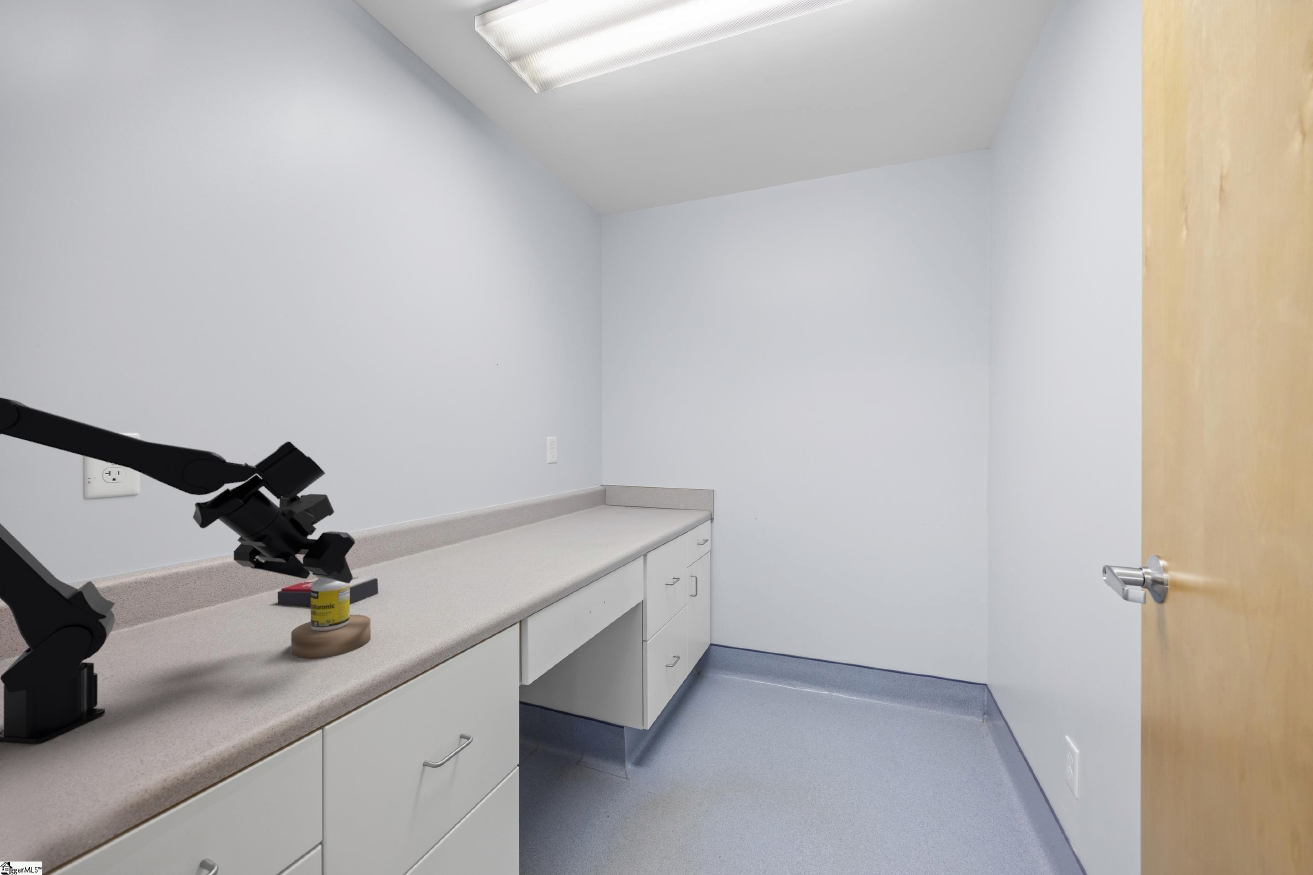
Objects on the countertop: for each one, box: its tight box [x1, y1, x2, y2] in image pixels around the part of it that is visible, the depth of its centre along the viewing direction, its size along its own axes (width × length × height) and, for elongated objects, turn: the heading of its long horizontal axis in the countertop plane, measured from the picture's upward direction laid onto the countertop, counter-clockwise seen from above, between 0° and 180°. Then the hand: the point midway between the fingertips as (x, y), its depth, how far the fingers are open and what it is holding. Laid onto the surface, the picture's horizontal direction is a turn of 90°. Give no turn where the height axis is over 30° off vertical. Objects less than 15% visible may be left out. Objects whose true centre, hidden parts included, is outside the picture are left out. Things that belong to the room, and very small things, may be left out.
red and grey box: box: [277, 575, 379, 608], centre depth 109 cm, size 11×4×15 cm
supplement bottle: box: [310, 575, 351, 631], centre depth 84 cm, size 5×5×10 cm
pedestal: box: [290, 614, 372, 659], centre depth 85 cm, size 11×11×3 cm
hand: (328, 578), depth 84 cm, fingers open, 9 cm apart
